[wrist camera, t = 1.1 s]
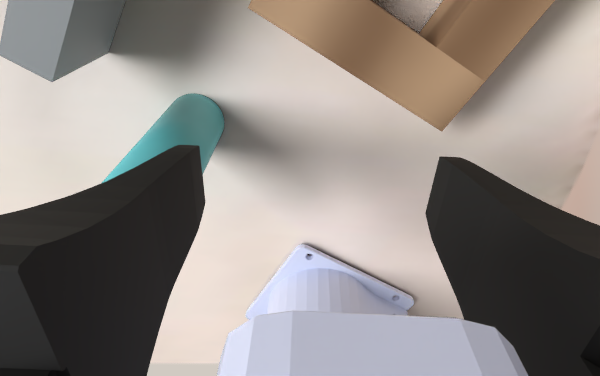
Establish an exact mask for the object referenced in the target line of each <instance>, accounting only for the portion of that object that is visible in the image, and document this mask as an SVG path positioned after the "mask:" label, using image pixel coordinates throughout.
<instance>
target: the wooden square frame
mask: <svg viewBox="0 0 600 376" xmlns="http://www.w3.org/2000/svg"><path fill="white" fill-rule="evenodd" d="M554 1H555V0H443V1H442V3H441V4H440V6H439V7H438V8H437V10H436V11H435V13H434V14H433V15H432V17H431V18H430V19H429V21H428V22H427V24H426V25H425V26H424V28H423V29H422V30H421V32H420V33H417V32H416V31H415V30H413V29H412V28H410V27H409V26H407V25H406V24H405V23H403V22H402V21H400V20H399V19H398V18H396V17H395V16H393V15H392V14H390V13H389V12H388V11H386V10H385V9H383V8H382V7H381V6H379V5H378V4H376V3H375V2H374V1H372V0H251V3H250V5H249V7H248V8H249V9H251V10H252V11H254V12H255V13H257V14H258V15H260V16H262V17H263V18H265V19H266V20H268V21H269V22H271V23H273V24H274V25H276V26H277V27H279V28H280V29H282V30H284V31H285V32H287V33H288V34H290V35H291V36H293V37H295V38H296V39H298V40H299V41H301V42H302V43H304V44H305V45H307V46H309V47H310V48H312V49H313V50H315V51H316V52H318V53H320V54H321V55H323V56H324V57H326V58H327V59H329V60H331V61H332V62H334V63H335V64H337V65H338V66H340V67H342V68H343V69H345V70H346V71H348V72H349V73H351V74H352V75H354V76H356V77H357V78H359V79H360V80H362V81H363V82H365V83H367V84H368V85H370V86H371V87H373V88H374V89H376V90H378V91H379V92H381V93H382V94H384V95H385V96H387V97H389V98H390V99H392V100H393V101H395V102H396V103H398V104H399V105H401V106H403V107H404V108H406V109H407V110H409V111H410V112H412V113H414V114H415V115H417V116H418V117H420V118H421V119H423V120H425V121H426V122H428V123H429V124H431V125H432V126H434V127H436V128H437V129H439V130H440V131H443V130H444V128H445V127H446V126H447V125H448V124H449V123H450V122H451V120H452V119H453V118H454V117H455V116H456V115H457V113H458V112H459V111H460V110H461V109H462V108H463V106H464V105H465V104H466V103H467V102H468V101H469V99H470V98H471V97H472V96H473V95H474V94H475V93H476V91H477V90H478V89H479V88H480V87H481V86H482V84H483V83H484V82H485V81H486V80H487V79H488V77H489V76H490V75H491V74H492V73H493V72H494V70H495V69H496V68H497V67H498V66H499V65H500V64H501V62H502V61H503V60H504V59H505V58H506V57H507V55H508V54H509V53H510V52H511V51H512V50H513V48H514V47H515V46H516V45H517V44H518V43H519V41H520V40H521V39H522V38H523V37H524V36H525V35H526V33H527V32H528V31H529V30H530V29H531V28H532V26H533V25H534V24H535V23H536V22H537V21H538V19H539V18H540V17H541V16H542V15H543V14H544V12H545V11H546V10H547V9H548V8H549V7H550V6H551V4H552V3H553V2H554Z"/></svg>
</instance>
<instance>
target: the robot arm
mask: <svg viewBox="0 0 600 376" xmlns="http://www.w3.org/2000/svg"><path fill="white" fill-rule="evenodd" d="M204 206H205V195H204V186H203V176H202V166H201V156H200V146H198V145H177V146H174V147H172V148H170V149H168V150H166V151H164V152H162V153H160V154H158V155H157V156H155V157H153V158H151V159H149V160H147V161H146V162H144V163H142V164H140V165H138V166H136V167H134V168H133V169H130V170H128V171H126V172H124V173H122V174H120V175H118V176H116V177H114V178H112V179H110V180H108V181H106V182H104V183H101V184H99V185H97V186H94V187H92V188H89V189H87V190H84V191H81V192H79V193H76V194H73V195H71V196H68V197H65V198H61V199H58V200H55V201H51V202H48V203H45V204H41V205H38V206H35V207H31V208H28V209H24V210H20V211H16V212H12V213H7V214H3V215H0V376H147V372H148V368H149V364H150V360H151V357H152V353H153V350H154V346H155V343H156V339H157V336H158V332H159V328H160V325H161V322H162V319H163V315H164V312H165V309H166V306H167V302H168V299H169V297H170V294H171V291H172V289H173V286H174V284H175V282H176V279H177V277H178V275H179V273H180V270H181V268H182V266H183V263H184V261H185V259H186V257H187V254H188V252H189V250H190V248H191V245H192V243H193V241H194V238H195V236H196V234H197V231H198V229H199V225H200V221H201V218H202V214H203V210H204ZM426 217H427V222H428V226H429V230H430V234H431V238H432V241H433V243H434V246H435V248H436V251H437V253H438V255H439V258H440V260H441V263H442V265H443V267H444V270H445V272H446V274H447V277H448V279H449V281H450V284H451V286H452V288H453V291H454V293H455V295H456V298H457V300H458V303H459V305H460V308H461V311H462V314H463V317H464V320H463V319H458V318H448V317H426V316H408V313H407V310H408V309H410V308H411V307H412V306H413V304H414V300H413V297H412V296H410V295H408V294H406V293H404V292H402V291H400V290H398V289H396V288H394V287H392V286H390V285H388V284H386V283H384V282H382V281H380V280H378V279H376V278H374V277H371V276H369V275H367V274H365V273H363V272H361V271H359V270H357V269H355V268H353V267H351V266H349V265H347V264H345V263H343V262H341V261H339V260H337V259H335V258H332V257H330V256H328V255H326V254H324V253H322V252H320V251H318V250H316V249H314V248H312V247H310V246H308V245H305V244H301V245H298V246H297V247H296V248H295V249H294V251H293V252H292V253H291V254H290V256H289V257H288V258H287V260H286V261H285V262H284V263H283V265H282V266H281V267H280V269H279V270H278V271H277V272H276V274H275V275H274V276H273V277H272V279H271V280H270V281H269V283H268V284H267V285H266V286H265V288H264V289H263V290H262V292H261V293H260V294H259V295H258V297H257V298H256V299H255V301H254V302H253V303H252V304H251V306H250V307H249V308H248V309H247V311H246V318H247V319H249V320H248V321H247V322H245V323H244V324H242V325H241V326H239V327H238V328H236V329H235V330H233V331H231V332H230V333H228V337H227V340H226V343H225V346H224V349H223V352H222V355H221V359H220V363H219V368H218V373H217V376H600V226H599V225H597V224H594V223H591V222H589V221H586V220H584V219H581V218H579V217H576V216H574V215H572V214H569V213H567V212H565V211H562V210H560V209H558V208H556V207H553V206H551V205H549V204H547V203H545V202H543V201H541V200H539V199H537V198H535V197H533V196H531V195H529V194H527V193H526V192H524V191H522V190H520V189H518V188H516V187H514V186H513V185H511V184H509V183H507V182H506V181H504V180H502V179H500V178H499V177H497V176H495V175H493V174H492V173H490V172H488V171H486V170H485V169H483V168H481V167H479V166H477V165H475V164H474V163H472V162H470V161H467V160H465V159H463V158H458V157H439V161H438V165H437V169H436V173H435V177H434V181H433V185H432V189H431V193H430V197H429V201H428V205H427V209H426ZM307 254H312V256H308V255H307ZM396 295H397V296H396ZM394 296H395V297H394Z"/></svg>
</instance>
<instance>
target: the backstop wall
mask: <svg viewBox="0 0 600 376" xmlns="http://www.w3.org/2000/svg"><path fill="white" fill-rule="evenodd" d="M125 2H126V0H8V5H7V10H6V16H5V21H4V26H3V31H2V37H1V42H0V56H2V57H4V58H6V59H8V60H10V61H12V62H14V63H15V64H17V65H19V66H21V67H23V68H25V69H27V70H29V71H31V72H33V73H35V74H37V75H39V76H41V77H43V78H45V79H47V80H49V81H51V82H53V81H55V80H57V79H59V78H61V77H63V76H65V75H67V74H69V73H71V72H73V71H74V70H76V69H78V68H80V67H82V66H84V65H86V64H88V63H90V62H92V61H94V60H96V59H98V58H99V57H101V56H103V55H105V54H107V53H108V52H109V49H110V46H111V43H112V40H113V37H114V34H115V31H116V28H117V25H118V22H119V19H120V16H121V13H122V10H123V8H124V5H125Z"/></svg>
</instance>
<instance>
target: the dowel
mask: <svg viewBox="0 0 600 376" xmlns="http://www.w3.org/2000/svg"><path fill="white" fill-rule="evenodd" d="M223 130H224V117H223V114H222V112H221V110H220V108H219V107H218V106H217V104H216V103H215V102H213V101H212V100H211V99H209V98H208V97H206V96H203V95H200V94H186V95H183V96H181V97H179V98H177V99H176V100H175V101H174V102H173V103H172V104H171V106H170V107H169V108H168V109H167V110H166V111H165V112H164V113H163V115H162V116H161V117H160V118H159V119H158V120H157V121H156V122H155V124H154V125H153V126H152V127H151V128H150V129H149V130H148V131H147V133H146V134H145V135H144V136H143V137H142V138H141V139H140V140H139V142H138V143H137V144H136V145H135V146H134V147H133V148H132V149H131V151H130V152H129V153H128V154H127V155H126V156H125V157H124V158H123V160H122V161H121V162H120V163H119V164H118V165H117V166H116V167H115V169H114V170H113V171H112V172H111V173H110V174H109V175H108V176H107V178H106V179H105V180H104V181H103V182H102V183H104V182H106V181H108V180H110V179H112V178H114V177H116V176H118V175H120V174H122V173H124V172H126V171H128V170H130V169H133V168H134V167H136V166H138V165H140V164H142V163H144V162H146V161H147V160H149V159H151V158H153V157H155V156H157V155H158V154H160V153H162V152H164V151H166V150H168V149H170V148H172V147H174V146H177V145H198V146H200V156H201V166H202V175H203V172H204V170H205V168H206V166H207V164H208V162H209V160H210V158H211V156H212V154H213V151H214V149H215V147H216V145H217V143H218V141H219V139H220V137H221V135H222V132H223Z"/></svg>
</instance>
